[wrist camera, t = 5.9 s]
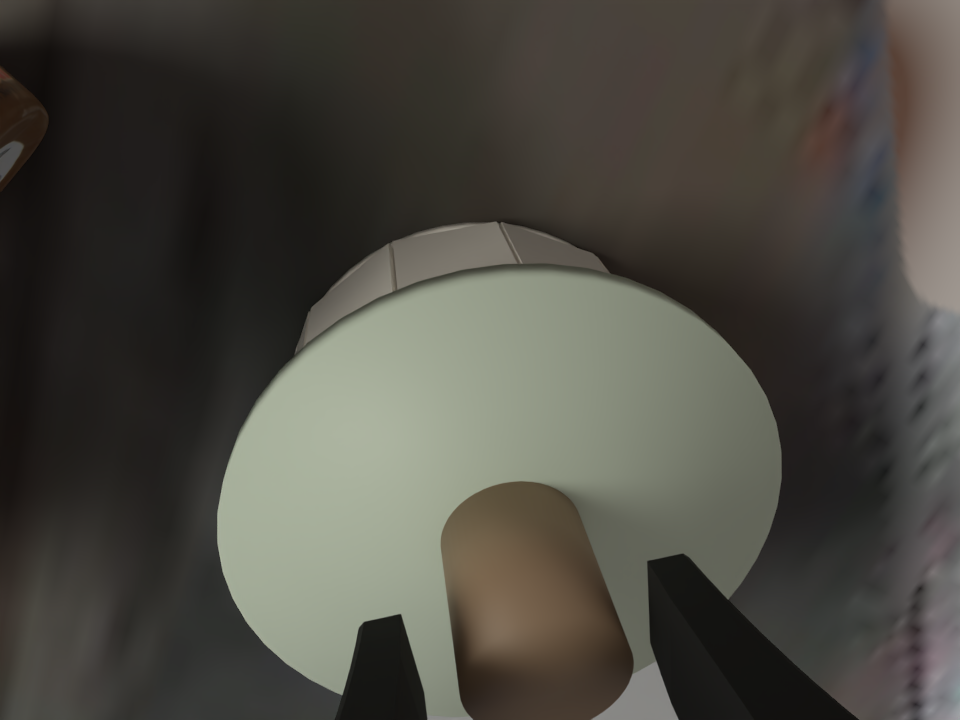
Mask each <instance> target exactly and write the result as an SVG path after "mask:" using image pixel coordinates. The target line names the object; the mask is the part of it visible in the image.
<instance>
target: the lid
mask: <svg viewBox="0 0 960 720" xmlns="http://www.w3.org/2000/svg"><path fill="white" fill-rule="evenodd" d="M781 480H782V464H781V446H780V440H779V435H778V429H777V424H776V421H775V418H774V415H773V413H772V410H771V407H770V405H769V402H768V399H767V396H766V395H765V393H764V391H763V390H762V388H761V386H760V385H759V383H758V381H757V379H756V378H755V376H754V374H753V373H752V371H751V370H750V368H749V367H748V366H747V365H746V364H745V363H744V361H743V360H742V359H741V358H740V357H739V356H738V354H737V353H736V352H735V351H734V350H733V349H732V347H731V346H730V345H729V344H728V343H727V342H726V341H725V340H724V339H723V338H722V337H721V336H720V334H719V333H718V332H717V331H716V330H715V329H713V328H712V327H711V326H710V325H709V324H707V323H706V322H705V321H704V320H703V319H701V318H700V317H699V316H698V315H697V314H695V313H694V312H693V311H692V310H691V309H689V308H687V307H686V306H684V305H682V304H680V303H679V302H677V301H675V300H674V299H672V298H670V297H669V296H667V295H665V294H664V293H662V292H660V291H658V290H655V289H653V288H650V287H648V286H645V285H643V284H641V283H638V282H636V281H633V280H631V279H628V278H626V277H622V276H618V275H614V274H610V273H606V272H602V271H598V270H594V269H590V268H583V267H575V266H566V265H557V264H548V263H539V264H501V265H494V266H486V267H479V268H472V269H465V270H459V271H456V272H452V273H448V274H444V275H440V276H437V277H433V278H429V279H425V280H422V281H418V282H416V283H413V284H411V285H408V286H406V287H403V288H401V289H398V290H396V291H393V292H391V293H388V294H386V295H383V296H381V297H378V298H377V299H375V300H373V301H371V302H369V303H368V304H366V305H364V306H362V307H360V308H358V309H357V310H355V311H353V312H351V313H349V314H348V315H346V316H344V317H342V318H341V319H339V320H338V321H337V322H335V323H334V324H332V325H331V326H330V327H328V328H327V329H326V330H324V331H323V332H322V333H320V334H319V335H317V336H316V337H315V338H313V339H312V340H311V341H309V342H308V343H307V344H306V345H305V346H304V347H303V348H302V349H301V350H300V351H299V352H298V353H297V354H296V355H295V356H293V357H292V358H291V359H290V360H289V361H288V362H287V363H286V364H285V365H284V366H283V367H282V368H281V369H280V370H279V371H278V373H277V374H276V375H275V377H274V378H273V379H272V380H271V382H270V383H269V384H268V386H267V387H266V388H265V389H264V391H263V392H262V393H261V395H260V396H259V397H258V398H257V400H256V402H255V404H254V405H253V407H252V409H251V411H250V413H249V414H248V416H247V418H246V420H245V421H244V423H243V425H242V427H241V429H240V431H239V434H238V436H237V439H236V442H235V445H234V447H233V450H232V453H231V456H230V458H229V461H228V465H227V469H226V473H225V476H224V480H223V485H222V491H221V496H220V502H219V507H218V513H217V543H218V549H219V554H220V560H221V565H222V571H223V574H224V577H225V579H226V582H227V585H228V587H229V590H230V592H231V595H232V598H233V600H234V601H235V603H236V605H237V607H238V608H239V610H240V612H241V613H242V615H243V617H244V618H245V620H246V622H247V623H248V625H249V626H250V627H251V628H252V629H253V631H254V632H255V633H256V634H257V635H258V637H259V638H260V639H261V640H262V641H263V643H264V644H265V645H266V646H267V647H268V648H270V649H271V650H272V651H273V652H274V653H275V654H276V655H277V656H278V657H280V658H281V659H282V660H283V661H284V662H285V663H286V664H288V665H289V666H291V667H292V668H294V669H295V670H297V671H298V672H300V673H301V674H303V675H304V676H306V677H307V678H308V679H310V680H312V681H314V682H316V683H318V684H320V685H322V686H324V687H326V688H328V689H330V690H332V691H334V692H336V693H338V694H341V695H343V691H344V688H345V685H346V681H347V677H348V673H349V670H350V666H351V662H352V657H353V653H354V649H355V644H356V639H357V634H358V629H359V627H360V626H361V625H362V623H363V622H365V621H370V620H374V619H379V618H384V617H388V616H393V615H398V614H401V615H402V619H403V622H404V626H405V629H406V632H407V636H408V639H409V643H410V646H411V649H412V653H413V656H414V659H415V663H416V666H417V670H418V673H419V676H420V680H421V683H422V686H423V690H424V695H425V703H426V711H427V715H429V716H444V717H471V718H472V719H473V720H591V719H593V718H595V717H596V716H598V715H599V714H601V713H602V712H604V711H605V710H606V709H608V708H609V707H610V706H611V705H612V704H613V703H614V702H615V701H616V700H617V699H618V698H619V697H620V696H621V695H622V693H623V692H624V691H625V689H626V687H627V686H628V684H629V682H630V679H631V677H632V674H634V673H636V672H638V671H640V670H641V669H643V668H645V667H647V666H649V665H650V664H652V663H654V662H656V659H655V656H654V653H653V650H652V647H651V644H650V628H649V601H648V573H647V561H649V560H654V559H659V558H663V557H668V556H673V555H677V554H682V553H683V554H685V555H687V556H688V557H690V559H691V560H692V561H693V562H694V563H695V564H696V565H697V567H698V568H699V569H700V570H701V571H702V572H703V573H704V574H705V575H706V577H707V578H708V579H709V580H710V581H711V582H712V583H713V584H714V585H715V586H716V587H717V588H718V590H719V591H720V592H721V593H722V594H723V595H724V596H725V597H726V598H727V599H729V598H730V597H731V595H732V594H733V593H734V592H735V590H736V589H737V588H738V587H739V585H740V584H741V583H742V581H743V580H744V578H745V577H746V575H747V574H748V572H749V570H750V569H751V567H752V566H753V564H754V562H755V561H756V559H757V557H758V555H759V553H760V551H761V549H762V547H763V545H764V543H765V540H766V538H767V536H768V534H769V531H770V528H771V525H772V522H773V519H774V515H775V512H776V509H777V505H778V499H779V492H780V486H781Z"/></svg>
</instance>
